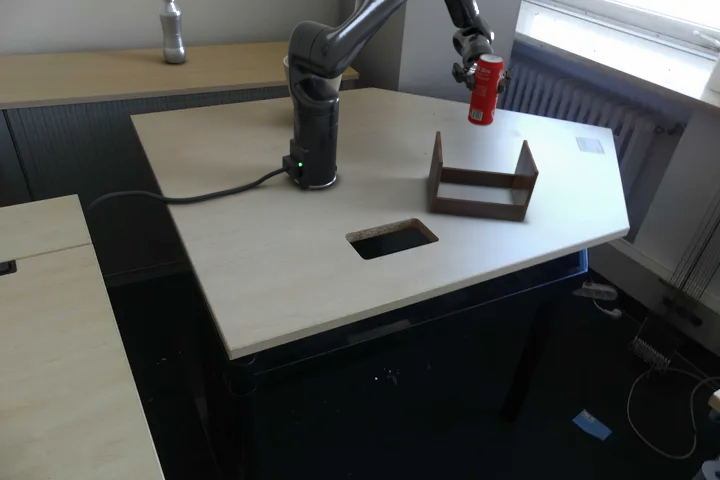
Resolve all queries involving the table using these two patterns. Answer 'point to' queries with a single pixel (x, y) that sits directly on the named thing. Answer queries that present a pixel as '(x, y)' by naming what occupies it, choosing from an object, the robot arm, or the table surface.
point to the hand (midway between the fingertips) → (486, 88)
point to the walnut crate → (517, 182)
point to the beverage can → (485, 89)
